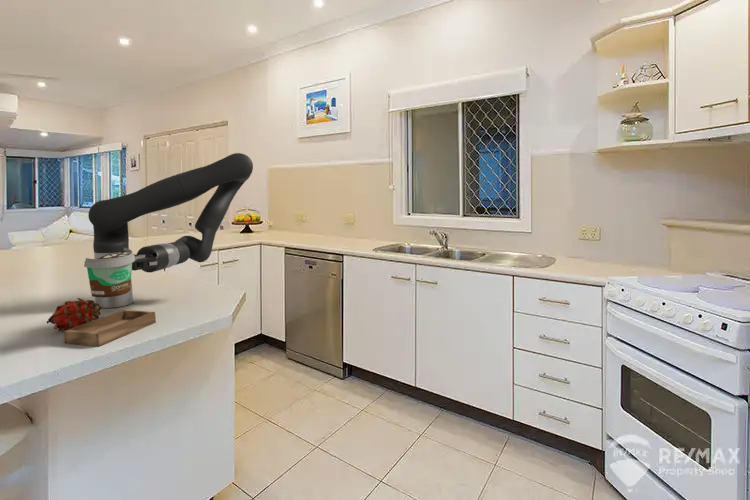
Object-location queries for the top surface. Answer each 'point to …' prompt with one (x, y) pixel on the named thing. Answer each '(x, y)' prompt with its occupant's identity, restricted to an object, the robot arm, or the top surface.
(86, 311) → the dragon fruit
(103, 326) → the wooden tray
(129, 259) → the food container
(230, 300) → the top surface
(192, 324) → the top surface
